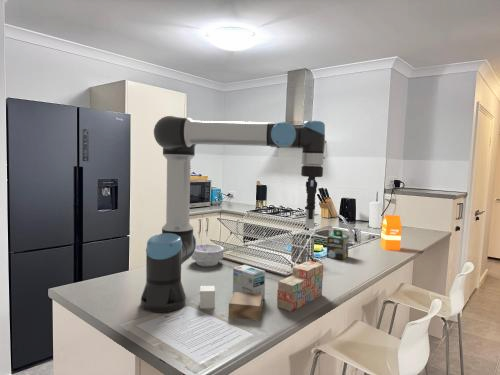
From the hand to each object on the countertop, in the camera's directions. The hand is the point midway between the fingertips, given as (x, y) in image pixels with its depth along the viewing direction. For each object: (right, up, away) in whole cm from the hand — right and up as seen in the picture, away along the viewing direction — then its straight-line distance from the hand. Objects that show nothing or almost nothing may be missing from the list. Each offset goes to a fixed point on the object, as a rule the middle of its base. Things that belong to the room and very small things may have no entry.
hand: (309, 224), depth 129 cm
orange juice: (+63, -23, +86) cm, 109 cm away
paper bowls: (-42, -23, +43) cm, 65 cm away
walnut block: (-23, -28, -9) cm, 38 cm away
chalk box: (+25, -24, +63) cm, 72 cm away
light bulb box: (-22, -27, +4) cm, 35 cm away
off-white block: (-36, -27, -5) cm, 46 cm away
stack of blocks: (-3, -28, +2) cm, 28 cm away
